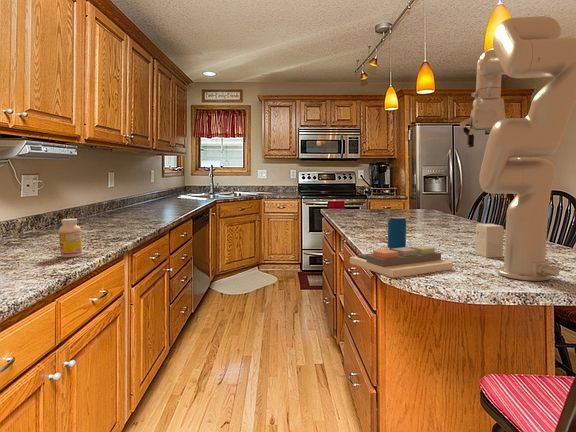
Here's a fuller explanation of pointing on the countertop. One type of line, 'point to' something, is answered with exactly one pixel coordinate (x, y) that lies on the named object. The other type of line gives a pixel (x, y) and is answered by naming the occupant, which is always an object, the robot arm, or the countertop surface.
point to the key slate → (405, 251)
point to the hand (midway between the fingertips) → (485, 146)
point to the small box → (489, 240)
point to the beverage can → (396, 232)
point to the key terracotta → (385, 254)
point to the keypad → (402, 264)
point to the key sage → (423, 249)
